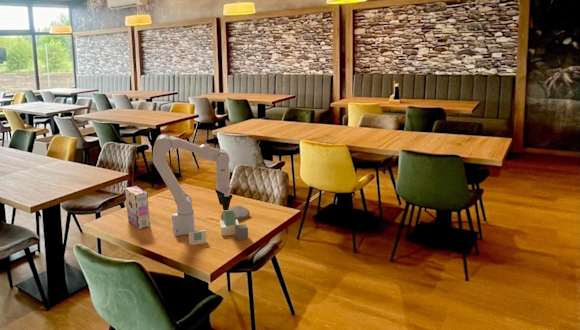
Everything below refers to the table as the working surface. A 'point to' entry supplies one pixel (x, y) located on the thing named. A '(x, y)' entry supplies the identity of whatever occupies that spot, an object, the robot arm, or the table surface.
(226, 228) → the cream base block
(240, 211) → the stone block
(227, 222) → the teal block
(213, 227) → the table surface
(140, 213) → the candy box
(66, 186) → the table surface
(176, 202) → the robot arm
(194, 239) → the placard
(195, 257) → the table surface
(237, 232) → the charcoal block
